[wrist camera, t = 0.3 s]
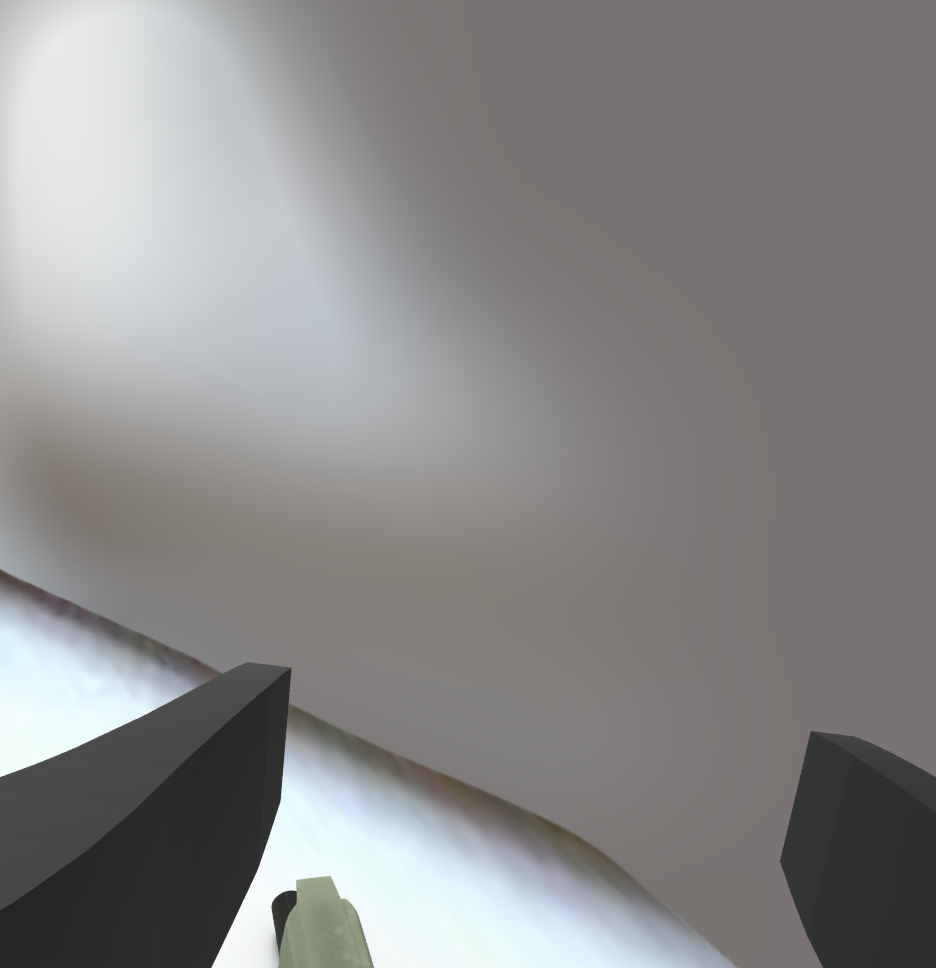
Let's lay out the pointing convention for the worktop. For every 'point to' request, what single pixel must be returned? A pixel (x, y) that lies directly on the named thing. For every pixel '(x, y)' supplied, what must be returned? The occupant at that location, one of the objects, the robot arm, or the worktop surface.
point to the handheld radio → (318, 928)
